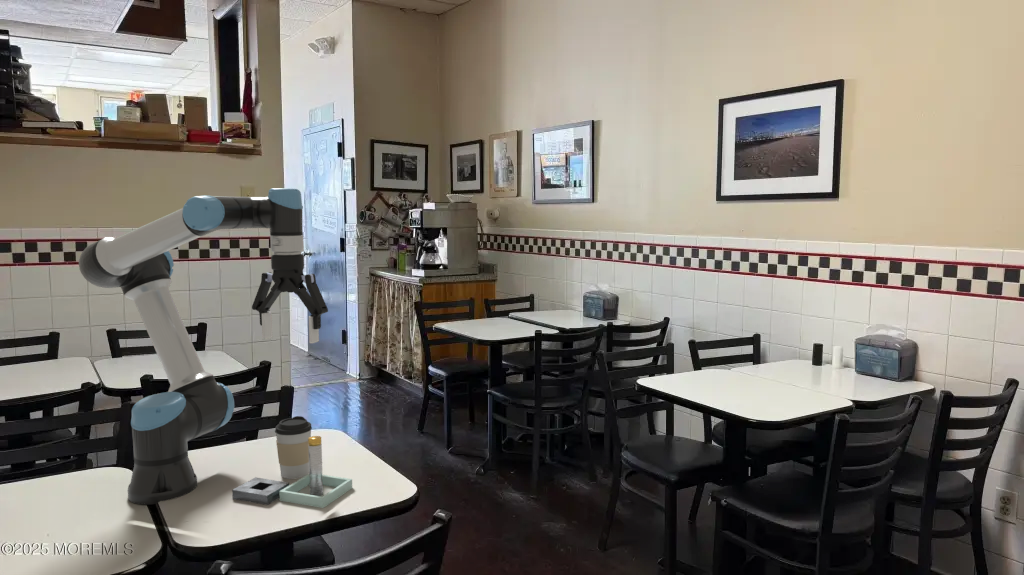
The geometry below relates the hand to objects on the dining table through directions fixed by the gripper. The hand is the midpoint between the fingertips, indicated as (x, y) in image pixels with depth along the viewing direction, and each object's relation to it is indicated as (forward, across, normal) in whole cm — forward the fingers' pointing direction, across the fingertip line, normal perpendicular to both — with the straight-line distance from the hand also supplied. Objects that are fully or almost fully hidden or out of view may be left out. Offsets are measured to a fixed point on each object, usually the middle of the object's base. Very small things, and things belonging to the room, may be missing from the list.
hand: (290, 340), depth 167 cm
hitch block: (+37, -3, -9) cm, 38 cm away
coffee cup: (+37, -4, +5) cm, 37 cm away
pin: (+36, +9, -4) cm, 37 cm away
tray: (+37, +9, -4) cm, 38 cm away
